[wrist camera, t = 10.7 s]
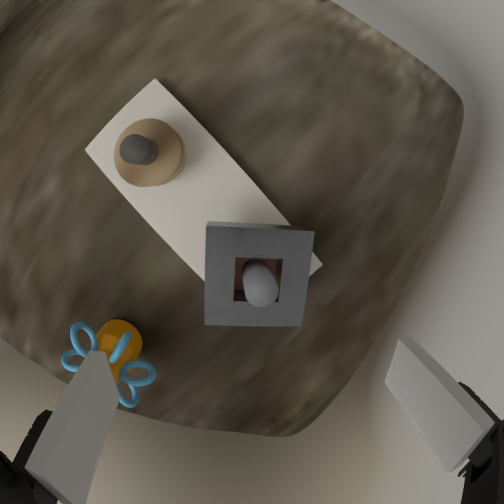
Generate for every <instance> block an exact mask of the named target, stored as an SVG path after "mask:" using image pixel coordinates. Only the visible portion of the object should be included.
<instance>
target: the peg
mask: <svg viewBox="0 0 504 504" xmlns="http://www.w3.org/2000/svg"><path fill="white" fill-rule="evenodd" d="M276 265H277V259H271V258H246V257H235V275H234V290H244V291H245V296H246V299H247V301H248V302H249V303H250V304H252V305H253V306H256V307H266V306H269V305H270V304H272V303H273V302H274V301H275V300H276V298H277V296H278V292H279V290H278V286H277V283H276V281H275V276H276Z"/></svg>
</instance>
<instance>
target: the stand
mask: <svg viewBox="0 0 504 504" xmlns="http://www.w3.org/2000/svg"><path fill="white" fill-rule="evenodd" d="M185 160H186V147H185V143H184V141H183V139H182V137H181V136H180V135H179V134H178V133H177V132H176V131H175V130H174V129H173V128H172V127H171V126H169V125H168V124H167V123H165V122H163V121H161V120H158V119H153V118H147V119H142V120H138V121H136V122H134V123H132V124H131V125H129V126H128V127H127V128H126V129H125V130H124V131H123V132H122V133H121V135H120V136H119V138H118V140H117V142H116V145H115V149H114V163H115V167H116V169H117V171H118V173H119V175H120V176H121V177H122V178H123V179H124V180H125V181H126V182H128V183H129V184H131V185H134V186H137V187H151V186H159V185H163V184H166V183H168V182H170V181H172V180H173V179H174V178H175V177H176V176H177V175H178V174H179V173H180V172H181V170H182V168H183V166H184V164H185Z"/></svg>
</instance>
